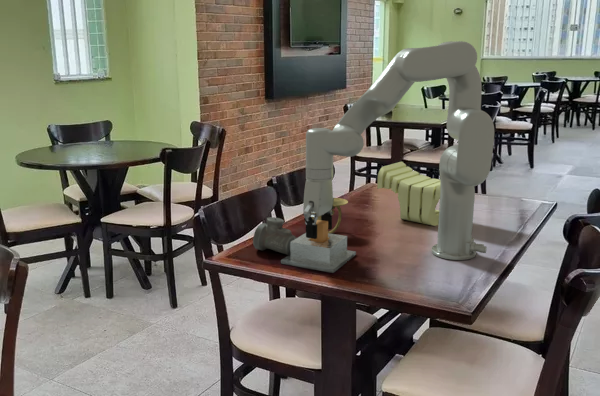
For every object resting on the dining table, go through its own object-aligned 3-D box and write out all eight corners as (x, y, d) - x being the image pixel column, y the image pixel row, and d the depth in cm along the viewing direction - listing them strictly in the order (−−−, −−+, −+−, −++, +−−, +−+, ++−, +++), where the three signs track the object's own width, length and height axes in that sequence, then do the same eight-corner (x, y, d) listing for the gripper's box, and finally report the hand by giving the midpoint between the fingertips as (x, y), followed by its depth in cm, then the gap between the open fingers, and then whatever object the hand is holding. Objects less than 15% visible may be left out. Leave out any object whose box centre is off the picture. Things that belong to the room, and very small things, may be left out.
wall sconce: (326, 242, 179) (327, 163, 173) (303, 236, 185) (303, 159, 179) (353, 232, 189) (354, 156, 183) (330, 227, 196) (331, 153, 189)
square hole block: (355, 254, 169) (356, 235, 167) (333, 272, 155) (333, 251, 153) (306, 246, 176) (306, 227, 174) (280, 263, 162) (280, 243, 161)
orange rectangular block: (316, 252, 167) (316, 219, 165) (327, 254, 166) (328, 221, 163) (311, 256, 164) (311, 222, 162) (322, 258, 163) (322, 224, 160)
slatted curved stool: (376, 216, 208) (377, 167, 203) (399, 207, 219) (401, 161, 215) (454, 233, 189) (457, 179, 184) (475, 222, 200) (479, 171, 196)
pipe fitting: (249, 250, 171) (253, 217, 169) (264, 245, 178) (269, 213, 176) (284, 262, 165) (288, 228, 163) (298, 256, 172) (303, 223, 170)
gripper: (320, 167, 168) (320, 223, 173) (292, 178, 153) (293, 240, 158) (344, 169, 165) (343, 226, 169) (318, 181, 150) (318, 244, 154)
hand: (319, 233), depth 163 cm, fingers open, 9 cm apart
